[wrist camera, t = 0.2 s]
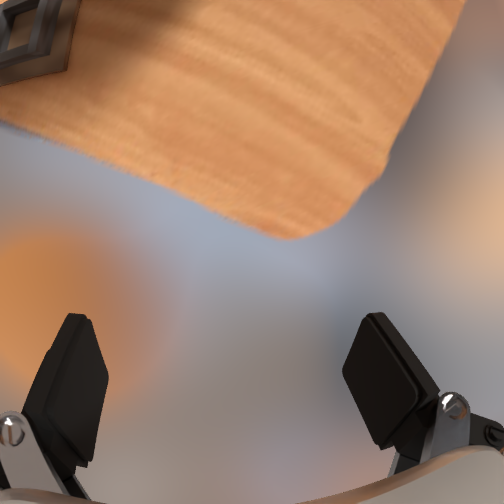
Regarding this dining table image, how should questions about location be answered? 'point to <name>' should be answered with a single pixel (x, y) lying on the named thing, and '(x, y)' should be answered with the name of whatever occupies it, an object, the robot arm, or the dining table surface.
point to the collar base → (35, 37)
